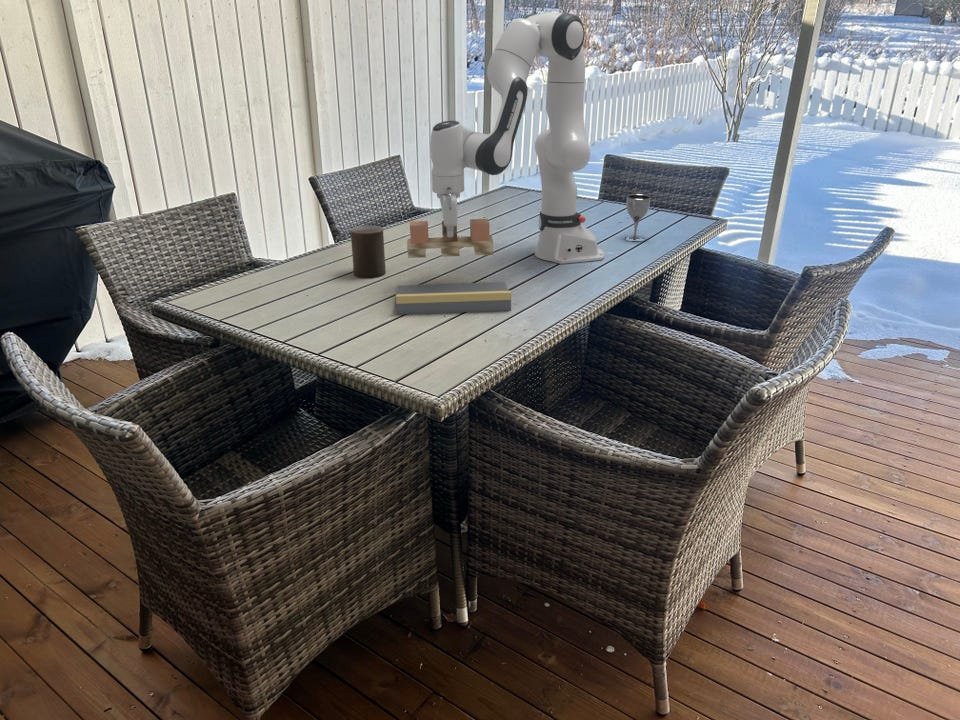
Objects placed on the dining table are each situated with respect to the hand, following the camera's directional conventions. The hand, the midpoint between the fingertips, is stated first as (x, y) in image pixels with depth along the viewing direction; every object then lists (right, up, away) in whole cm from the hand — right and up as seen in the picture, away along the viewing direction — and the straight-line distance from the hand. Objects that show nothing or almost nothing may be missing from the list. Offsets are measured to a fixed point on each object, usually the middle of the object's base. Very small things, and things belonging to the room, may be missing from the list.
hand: (449, 234), depth 190 cm
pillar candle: (-25, -9, +17) cm, 31 cm away
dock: (+1, -20, -6) cm, 21 cm away
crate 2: (+8, -1, +1) cm, 9 cm away
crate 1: (-9, -2, 0) cm, 9 cm away
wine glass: (+63, +7, +48) cm, 80 cm away
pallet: (0, -5, +3) cm, 6 cm away
